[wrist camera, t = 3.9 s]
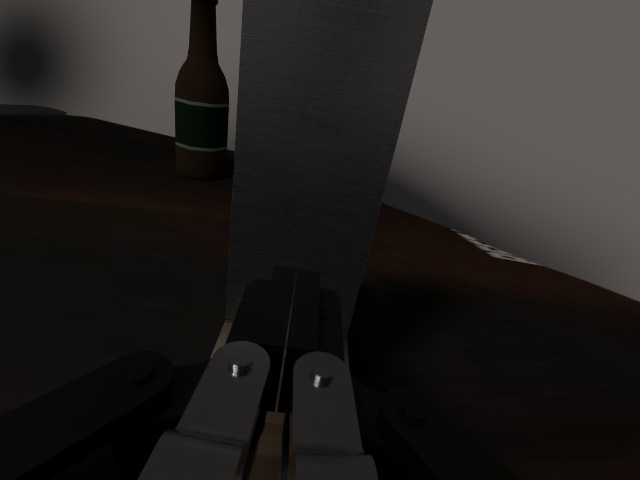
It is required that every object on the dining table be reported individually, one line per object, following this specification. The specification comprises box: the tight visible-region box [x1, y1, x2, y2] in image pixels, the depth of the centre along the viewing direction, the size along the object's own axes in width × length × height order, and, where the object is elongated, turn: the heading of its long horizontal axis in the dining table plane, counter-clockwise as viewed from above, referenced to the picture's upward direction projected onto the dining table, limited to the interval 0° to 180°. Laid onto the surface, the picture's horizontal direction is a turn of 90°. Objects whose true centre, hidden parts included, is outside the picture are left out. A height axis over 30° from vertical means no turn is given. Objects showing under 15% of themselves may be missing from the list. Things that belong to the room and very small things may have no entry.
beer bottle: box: [175, 0, 229, 181], centre depth 51 cm, size 8×8×24 cm
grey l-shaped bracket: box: [226, 0, 433, 347], centre depth 18 cm, size 6×6×20 cm
